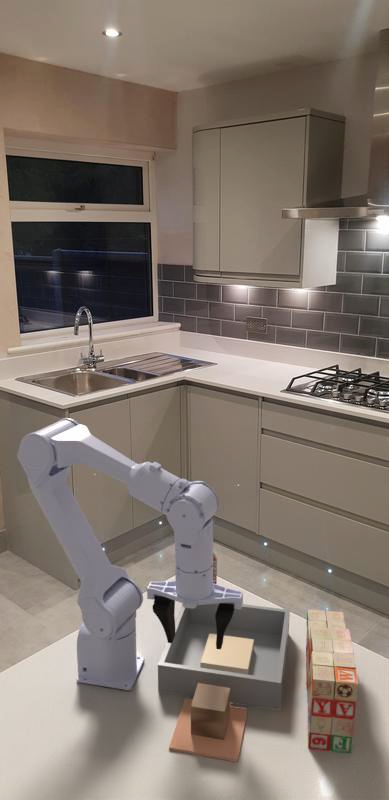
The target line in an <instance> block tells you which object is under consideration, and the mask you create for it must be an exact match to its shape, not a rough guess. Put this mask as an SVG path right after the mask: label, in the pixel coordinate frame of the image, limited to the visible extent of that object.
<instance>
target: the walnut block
mask: <svg viewBox="0 0 389 800" xmlns="http://www.w3.org/2000/svg"><path fill="white" fill-rule="evenodd" d="M192 700H193V701H192V704H191V735H197V736H203V737H209V738H214V739H220V740H224V739H225V734H226V730H227V725H228V721H229V717H230V706H231V703H230V688H227V687H221V686H215V685H208V684H202V683H198V685H197V688H196V691H195V694H194V697H192Z"/></svg>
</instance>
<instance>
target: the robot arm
mask: <svg viewBox="0 0 389 800" xmlns="http://www.w3.org/2000/svg"><path fill="white" fill-rule="evenodd" d="M16 457H17V458H16V459H18V461H19V463H20V465H21V467H22V469H23V470H24V472H25V475H26V476H27V482H28V485H29V488H30V491H31V493H32V494H33V496H34V498H35V500H36V501H37V503H38V506H39V507H40V509H41V511H42V513H43V514H44V516H45V519H46V520H47V522H48V523H49V526H50V528H51V529H52V531H53V532H54V535H55V536H56V538H57V540H58V542H59V543H60V546H61V547H62V549H63V551H64V553H65V555H66V557H67V558H68V559H67V560H68V561H69V562H70V565H72V568H73V569H74V571H75V573H76V576H77V577H78V579H79V580H80V587H79V591H78V594H77V601H76V603H77V605H78V607H79V610H80V612H81V617H82V623H81V625H80V628H79V630H78V635H77V638H76V639H77V640H76V655H77V656H76V658H77V662H76V663H77V677H76V682H77V683H81V684H82V683H83V684H88V685H93V686H100V687H106V688H113V689H117V690H118V689H119V690H125V691H130V690H132V689H133V687H134V685H135V682H136V680H137V677H138V676H139V673H140V671H141V668H142V667H143V664H144V663H145V657H144V656H137V624H136V623H137V621H136V618H137V610H138V609H140V608H141V606H142V605H143V601H144V595H143V592H142V589H141V587H140V586H139V584H138V583H137V582H136V581H134V580H133V579H132V577H130V576H129V574H128V573H127V571H126V568H124V567H121V566H117V565H113V564H112V563H111V562H110V559H109V558H108V557H107V554H106V553H105V550H104V549H103V547H102V545H101V543H100V542H99V540H98V538H97V535H95V532H94V530H93V528H92V527H91V525H90V523H89V521H88V518H86V515H85V514H84V512H83V510H82V509H81V507H80V505H79V503H78V501H77V499H76V497H75V495H74V494H73V492H72V490H71V488H70V486H69V484H68V483H67V480H68V477H69V474H70V471H71V467H72V466H75V465H80V464H83V465H85V466H87V467H90V468H91V469H94V470H96V471H98V472H100V473H102V474H104V475H106V476H109V477H111V478H113V479H115V480H117V481H119V482H121V483H123V484H126V487H127V490H128V493H129V495H130V496H131V497H133V498H135V499H136V500H138V501H140V502H142V503H144V504H146V505H147V506H149V507H151V508H153V509H154V510H155V511H158V512H159V513H161V514H163V515H165V516H166V518H167V521H168V523H169V525H170V526H171V528H172V530H173V535H174V536H173V539H174V563H175V564H174V567H175V568H174V569H175V570H174V571H175V572H174V573H175V576H174V577H175V580H168V581H167V580H166V581H149V584H148V586H147V587H146V596H147V597H146V598H147V600H152V601H153V604H152V612H153V613H154V614H155V616H156V617H157V618H158V620H159V622H160V624H161V626H162V628H163V631H164V633H165V637H166V640H167V641H168V643H172V642H173V640H174V637H175V621H176V619H175V613H176V612H175V609H176V608H175V607H176V605H175V604H176V602H178V603H181V604H182V603H183V607H184V608H192V609H194V608H196V607H197V605H206V604H218V605H219V606H218V608H217V611H216V614H215V619H216V627H217V638H216V649H221V648H222V644H223V638H224V632H225V630H226V628H227V626H228V624H229V622H230V621H231V618H232V616H233V613H234V609H240V610H241V608H242V604H244V592H243V591H242V590H237V589H232V588H229V587H225V586H222V585H220V584H214V583H213V551H214V532H213V531H214V529H213V528H214V523H213V522H214V521H213V520H214V519H212V517H213V516H214V515H215V514H216V512H217V511H218V508H219V503H220V502H219V496H218V494H217V492H216V491H215V489H214V488H213V487H212V486H210V485H209V484H207V483H206V482H205V481H202V480H194V481H189V480H188V479H186V478H180V477H179V476H177V475H175V474H173V473H171V472H169V471H167V470H166V469H164V468H162V464H160V463H158V462H157V461H154V462H150V461H145V462H141V463H137V462H135V461H133V459H130V458H129V457H127V456H126V455H124V454H123V453H121V452H119V450H116V449H115V448H113V447H112V446H109V444H107V443H105V442H103V441H102V440H100V439H99V438H97V437H96V436H94V435H93V434H92V433H91V432H90V430H89V427H88V426H86V425H84V424H81V423H79V422H78V421H76V420H75V419H74V418H73V419H72V418H71V417H69V418H68V417H64V418H61V419H58V420H57V421H56V422H54V423H52V424H50V425H48V426H45V427H43V428H41V429H39V430H36V431H34V432H30V433H28V434H26V435H25V436H23V438H22V439H21V441H20V444H19V447H18V451H17V453H16ZM167 641H166V642H167Z"/></svg>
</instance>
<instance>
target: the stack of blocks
mask: <svg viewBox="0 0 389 800" xmlns="http://www.w3.org/2000/svg"><path fill="white" fill-rule="evenodd" d="M305 637H306V639H305V641H306V644H305V675H306V680H305V681H306V697H307V698H306V699H307V748H308V749H309V750H317V751H326V752H337V753H346V754H352V749H353V741H354V735H353V733H354V724H355V718H356V709H357V697H358V689H359V680H358V675H357V665H356V660H355V651H354V645H353V641H352V637H351V631H350V629H348V628H347V625H346V622H345V616H344V612H343V611H330V610H317V609H316V610H315V609H307V612H306V636H305Z"/></svg>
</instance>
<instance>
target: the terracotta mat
mask: <svg viewBox="0 0 389 800" xmlns="http://www.w3.org/2000/svg"><path fill="white" fill-rule="evenodd" d="M192 701H193V699H189V698H184V700H183V703H182V707H181V709H180V712H179V716H178V719H177V722H176V725H175V728H174V731H173V735H172V737H171V739H170V742H169V746H168V750H170V751H175V752H180V753H186V754H190V755H191V754H193V755H198V756H202V757H208V758H214V759H218V760H219V759H220V760H225V761H231V762H236V763H238V761H239V758H240V751H241V748H242V741H243V736H244V730H245V726H246V720H247V715H248V711H249V710H248V708H245V707H239V706H232V705H230V717H229V721H228V725H227V730H226V734H225V739H224V740H220V739H214V738H209V737H203V736H197V735H191V704H192Z"/></svg>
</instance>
